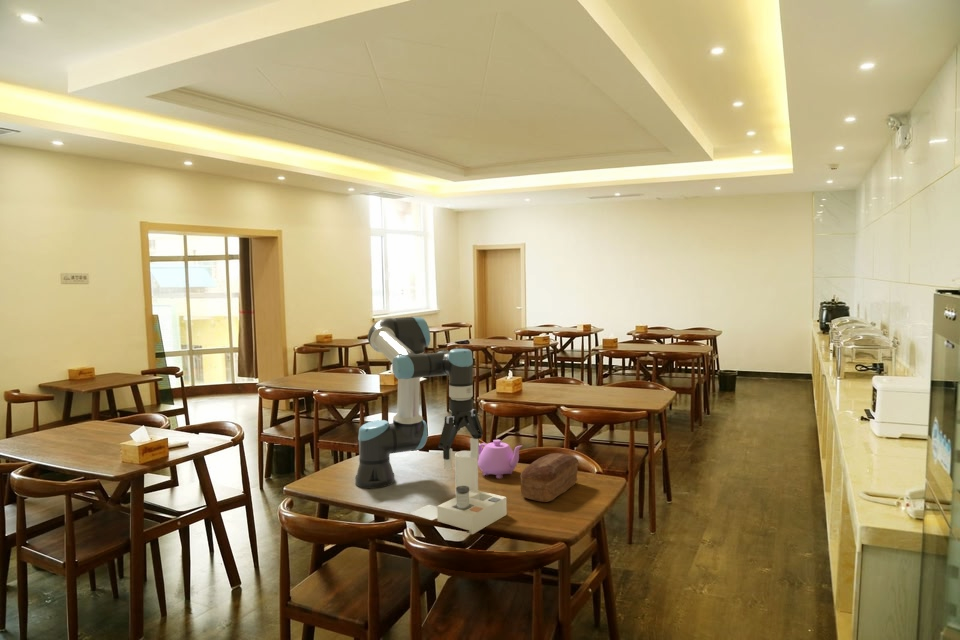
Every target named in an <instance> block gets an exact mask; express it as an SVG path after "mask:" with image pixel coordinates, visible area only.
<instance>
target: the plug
mask: <svg viewBox="0 0 960 640" xmlns="http://www.w3.org/2000/svg"><path fill="white" fill-rule="evenodd" d="M456 492H457V509H460V510H464V511H465V510H467V509H469V487H468V486H458V487H456Z"/></svg>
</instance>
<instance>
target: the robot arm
mask: <svg viewBox="0 0 960 640" xmlns="http://www.w3.org/2000/svg"><path fill="white" fill-rule="evenodd" d="M367 341H368V344H369V345H370V347H371V348H372V349H373V350H374V351H376V352H378V353H381V354H382V355H383V356H384V357H385V358H386V359H387V360H388V361H389V362H390V363H391V364H392V366H391V367H392V372H393V375H394V376H393V377H395V378H396V379H397V400H396V401H397V404H396V405H397V407H396V409H397V411H396V412H397V413H396V414H395V415H394V416H393V418H392V419H393V420H392V421H393V422H391V423H390V422H389V421H388V420H385V419H381V420H378V419H377V420H373V421H368V422H366V423H364V424H362V425H361V426H360V427H359V429H358V437H357V438H358V439H357V440H358V454H359V455H358V458H359V460H358V461H359V463H358V464H359V465H358V467H357V473H356V475H355V485H356V486H357V487H359V488H365V489H379V488H385V487H387V486H390V485H392V484H393V483H394V482H395V481H396V480H395V479H396V478H395V473H394V471H393V467H392V465H391V460H390V454H396V453H397V454H398V453H404V452H405V453H406V452H414V451H417V450H418V451H419V450H421V449H423V448H424V447H425V445H426V443H427V441H428V436H429V435H428V433H429V432H428V425H427V422H426V421H425V420H424V419H423V416H422V415H421V414H420V391H421V389H420V387H421V386H420V383H421V382H420V381H421V378H427V377H430V378H431V377H439V376H448V380H449V381H448V397H449V400H448V403H449V405H448V406H449V407H448V408H449V410H450V412H451V415H450V416H444V423H443V427H442V431H441V434H440V438H439V442H438V445H437V448H439V449H442V453H443V456H442V457H443V466H444V467H443V469H445V470H448V471H449V470H450V471H452V470H453V448H451V447H452V445H453V443H454V441H455V438H456V436H457V434H458V432H459V431H460V430H461V429H462V428H464V427H465V428H466V429H467V431H468V433H469V434H470V435H471V437H470V440H469V441H470V451H471V458H475V459H478V458H479V456H480V455H479V450H478V447H479V445H480V439H481V440H482V438H483V435H484V430H483V427H482V425H481V422H480V420H479V419H480V418H479V416H478V409H474V399H473V396H474V395H473V394H474V393H473V387H474V386H473V384H474V383H473V381H474V380H473V375H474V367H473V366H474V365H473V364H474V358H473V352H472V350H471V349H469V348H453V349H450V350H441V351H437V352H432V353H425V348H427V347H428V346H429V345H430V344H431V332H430V328H429V325H428V323H427V321H426V320H425V318H423V317H421V316H407V317H405V316H404V317H389V318H388V317H387V318H382V319H379V320H377V321H376V322H375V323H374V324H372V325H371V327H370V328H369V330H368V332H367Z"/></svg>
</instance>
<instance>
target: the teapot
mask: <svg viewBox="0 0 960 640" xmlns="http://www.w3.org/2000/svg"><path fill="white" fill-rule="evenodd" d="M492 441H493V442H489V443H486V442H482V443H479V447H478V452H479V458H478V469H480V471H481V472H482V476H485V475H486V476H489V475H495V478H496V479H498V478H499V479H503V478H504V477H503V475H512V474H513V471H514V470H515V468H517V466H518V463H519V459H520V455H519V454H520V449H521V448H522V447H523V445H517V446H515V448H514V450H513V449H512V447H511V446H510V445H509V444H508V443H506V442H502V440H501V439H493V440H492ZM499 479H498V480H499Z"/></svg>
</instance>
